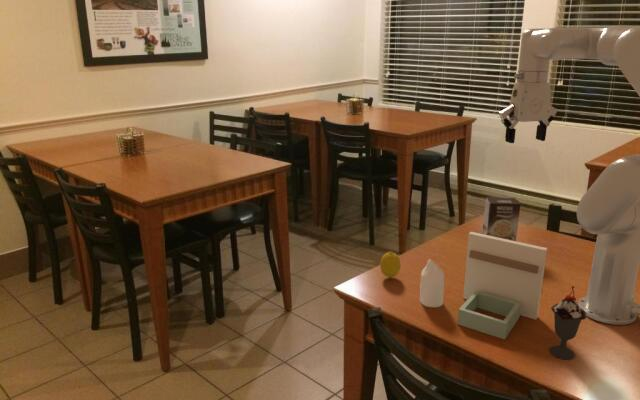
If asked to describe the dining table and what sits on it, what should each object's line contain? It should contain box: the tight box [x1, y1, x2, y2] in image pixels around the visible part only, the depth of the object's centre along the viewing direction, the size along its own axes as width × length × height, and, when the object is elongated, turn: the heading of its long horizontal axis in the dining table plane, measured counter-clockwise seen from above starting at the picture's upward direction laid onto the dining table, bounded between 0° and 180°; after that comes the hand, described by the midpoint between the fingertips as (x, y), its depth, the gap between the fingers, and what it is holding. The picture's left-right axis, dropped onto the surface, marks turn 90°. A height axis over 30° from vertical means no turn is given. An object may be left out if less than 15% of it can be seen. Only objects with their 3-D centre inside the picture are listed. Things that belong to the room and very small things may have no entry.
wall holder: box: [457, 231, 548, 340], centre depth 122 cm, size 18×14×18 cm
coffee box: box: [481, 196, 521, 242], centre depth 161 cm, size 9×6×16 cm
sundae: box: [549, 285, 587, 361], centre depth 109 cm, size 7×7×15 cm
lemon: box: [379, 250, 401, 279], centre depth 144 cm, size 6×6×8 cm
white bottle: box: [419, 259, 445, 308], centre depth 131 cm, size 6×12×6 cm
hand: (525, 141), depth 144 cm, fingers open, 9 cm apart
